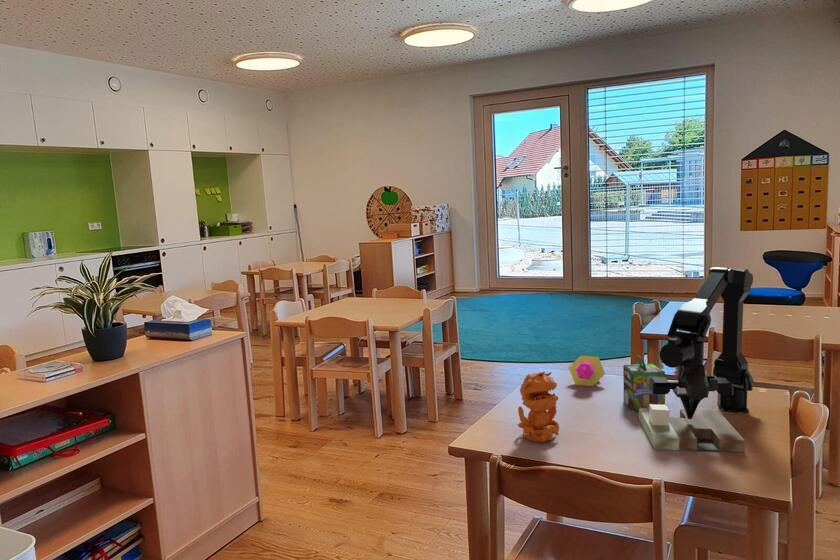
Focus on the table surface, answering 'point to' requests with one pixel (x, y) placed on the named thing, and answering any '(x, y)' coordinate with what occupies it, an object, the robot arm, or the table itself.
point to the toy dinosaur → (538, 407)
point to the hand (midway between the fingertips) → (689, 418)
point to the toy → (587, 370)
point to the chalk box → (641, 385)
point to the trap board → (693, 432)
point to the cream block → (658, 414)
